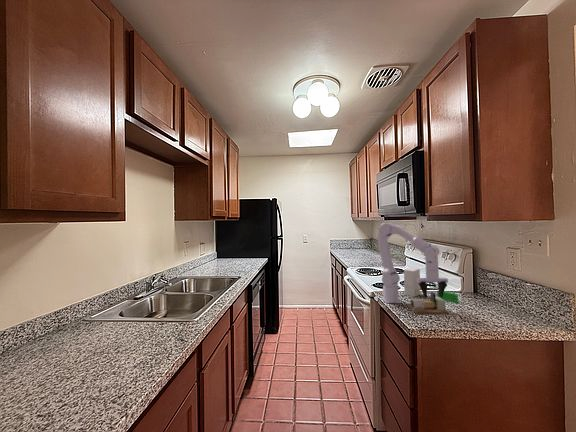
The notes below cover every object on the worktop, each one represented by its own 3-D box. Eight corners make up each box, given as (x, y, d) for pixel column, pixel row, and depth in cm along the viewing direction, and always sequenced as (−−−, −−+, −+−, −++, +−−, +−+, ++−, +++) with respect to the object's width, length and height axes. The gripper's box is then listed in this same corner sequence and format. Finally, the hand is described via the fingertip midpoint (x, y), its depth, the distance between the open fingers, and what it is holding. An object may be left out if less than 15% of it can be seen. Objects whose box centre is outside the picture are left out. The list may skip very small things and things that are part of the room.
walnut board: (406, 306, 144) (406, 304, 144) (435, 305, 144) (435, 304, 144) (416, 314, 132) (416, 311, 132) (448, 313, 132) (448, 311, 132)
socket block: (431, 305, 141) (431, 296, 141) (438, 305, 141) (437, 296, 141) (438, 309, 134) (437, 300, 134) (445, 309, 134) (445, 300, 134)
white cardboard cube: (410, 306, 140) (410, 298, 140) (420, 306, 140) (420, 298, 140) (414, 309, 136) (413, 301, 136) (424, 309, 136) (424, 301, 136)
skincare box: (410, 292, 171) (409, 267, 171) (421, 294, 166) (420, 268, 166) (403, 295, 166) (403, 269, 166) (414, 297, 161) (413, 270, 161)
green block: (461, 302, 149) (460, 294, 149) (456, 303, 147) (456, 295, 147) (441, 297, 159) (441, 289, 159) (437, 298, 157) (437, 290, 157)
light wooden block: (421, 305, 140) (420, 292, 140) (437, 305, 139) (436, 291, 139) (423, 307, 137) (423, 293, 137) (440, 307, 136) (439, 293, 136)
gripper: (420, 271, 134) (421, 299, 134) (451, 271, 134) (452, 299, 134) (414, 269, 142) (415, 295, 141) (443, 268, 141) (444, 295, 141)
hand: (432, 296), depth 138 cm, fingers open, 7 cm apart
